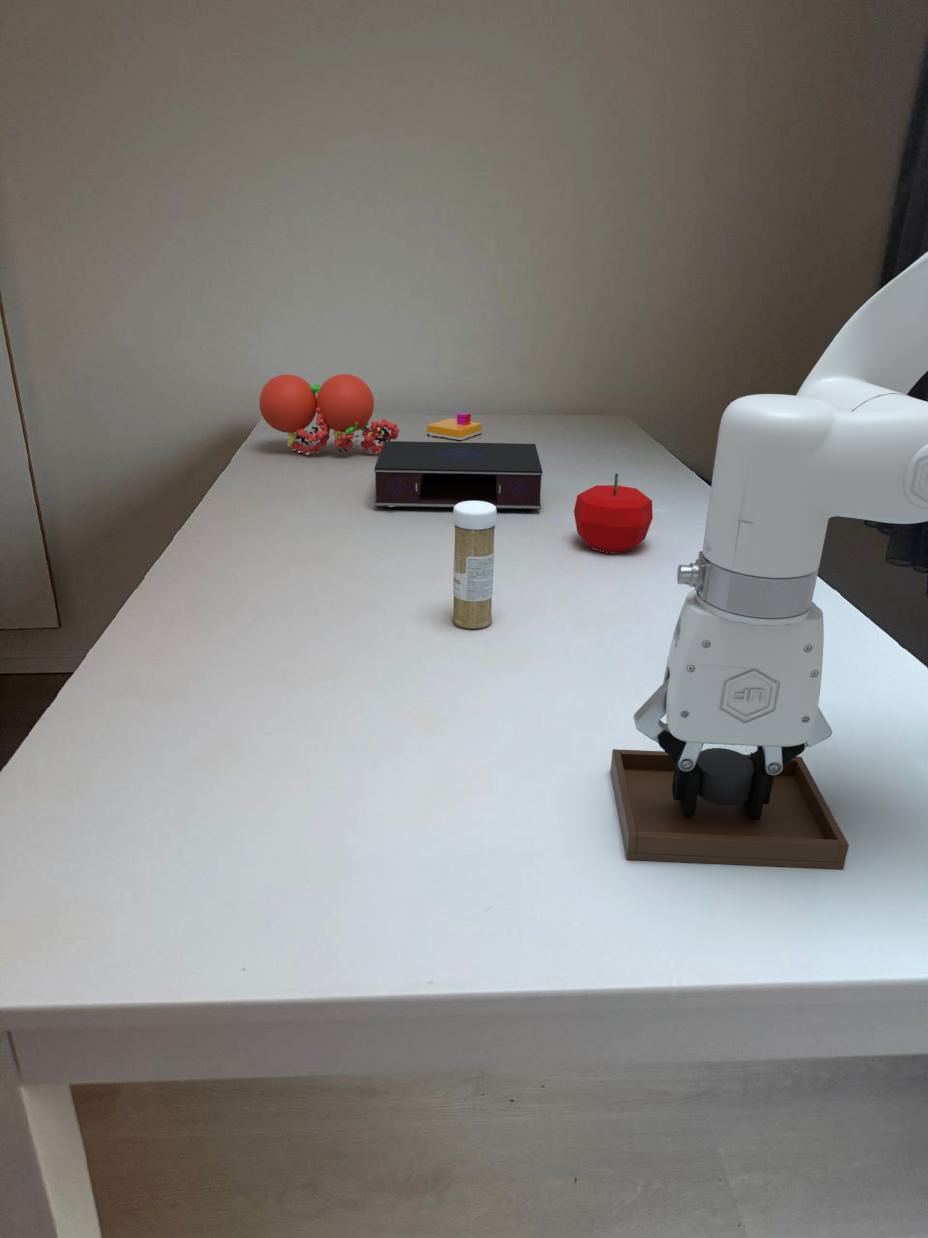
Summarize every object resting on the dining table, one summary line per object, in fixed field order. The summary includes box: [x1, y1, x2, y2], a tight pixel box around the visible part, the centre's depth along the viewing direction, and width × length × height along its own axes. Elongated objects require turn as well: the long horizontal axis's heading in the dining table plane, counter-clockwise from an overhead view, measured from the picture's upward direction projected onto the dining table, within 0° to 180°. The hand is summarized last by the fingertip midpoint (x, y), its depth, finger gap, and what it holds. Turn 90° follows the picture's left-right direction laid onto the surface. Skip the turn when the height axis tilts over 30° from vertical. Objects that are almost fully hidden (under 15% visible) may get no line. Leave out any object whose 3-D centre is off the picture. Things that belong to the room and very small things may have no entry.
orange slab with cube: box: [426, 412, 483, 438], centre depth 183 cm, size 8×8×4 cm
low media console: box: [373, 440, 543, 510], centre depth 143 cm, size 17×25×7 cm
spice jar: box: [451, 501, 498, 629], centre depth 98 cm, size 5×5×13 cm
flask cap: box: [697, 747, 755, 806], centre depth 67 cm, size 4×4×2 cm
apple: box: [573, 473, 654, 554], centre depth 122 cm, size 11×11×10 cm
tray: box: [609, 748, 850, 870], centre depth 69 cm, size 15×11×2 cm
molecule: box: [258, 373, 400, 455], centre depth 164 cm, size 25×11×15 cm, turn 89°
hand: (718, 805), depth 69 cm, fingers closed on flask cap, 4 cm apart
